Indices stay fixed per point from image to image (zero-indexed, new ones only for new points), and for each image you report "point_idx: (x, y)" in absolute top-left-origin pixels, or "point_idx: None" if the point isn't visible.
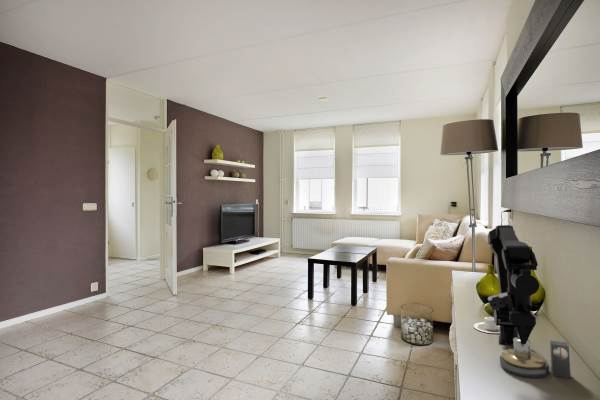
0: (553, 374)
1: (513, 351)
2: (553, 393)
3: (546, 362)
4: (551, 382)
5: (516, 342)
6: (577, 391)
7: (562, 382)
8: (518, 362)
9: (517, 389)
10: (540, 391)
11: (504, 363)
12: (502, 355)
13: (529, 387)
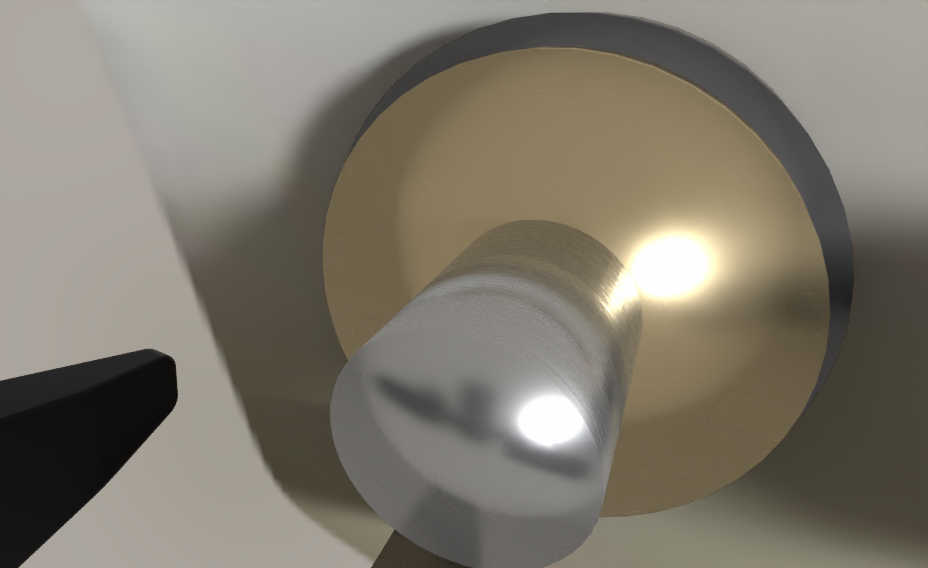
0: None
1: (719, 269)
2: (204, 292)
3: None
4: None
5: (383, 333)
6: (279, 439)
7: None
8: (361, 198)
9: (158, 55)
10: (197, 220)
11: (454, 42)
12: (542, 49)
13: (222, 164)
